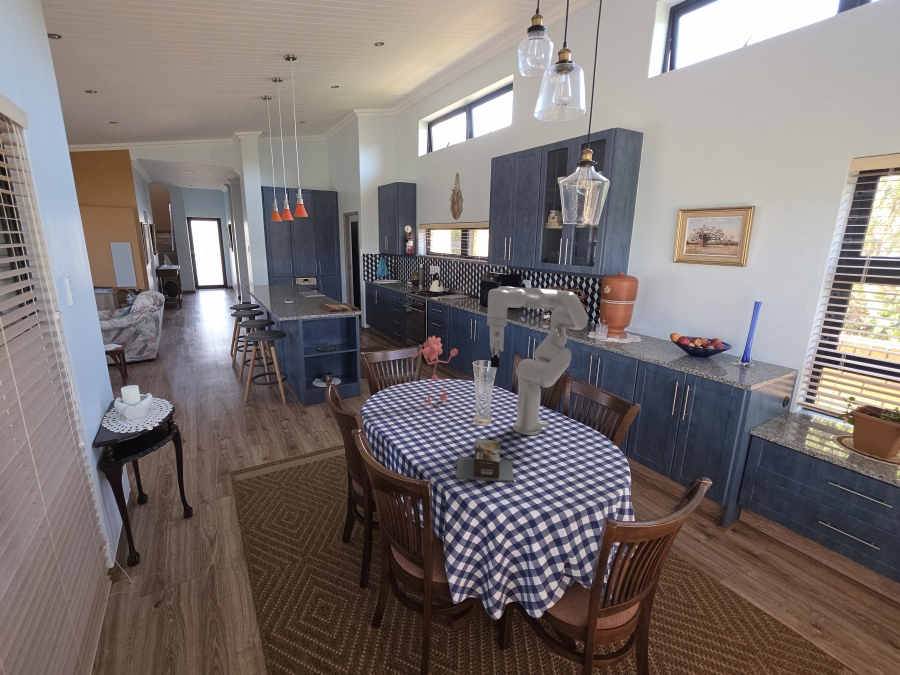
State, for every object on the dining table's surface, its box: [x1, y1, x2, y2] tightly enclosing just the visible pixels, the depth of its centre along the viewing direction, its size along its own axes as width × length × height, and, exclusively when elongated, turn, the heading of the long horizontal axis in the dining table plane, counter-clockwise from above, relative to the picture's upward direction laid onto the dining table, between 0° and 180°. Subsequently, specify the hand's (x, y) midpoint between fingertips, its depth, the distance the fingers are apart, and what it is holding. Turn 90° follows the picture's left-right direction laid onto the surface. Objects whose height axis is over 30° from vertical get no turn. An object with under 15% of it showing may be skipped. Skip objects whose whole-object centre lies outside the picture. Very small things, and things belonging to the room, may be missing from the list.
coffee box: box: [473, 439, 501, 478], centre depth 159 cm, size 9×6×16 cm
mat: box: [455, 457, 515, 483], centre depth 158 cm, size 20×14×1 cm
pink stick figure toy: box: [410, 335, 459, 411], centre depth 217 cm, size 15×26×35 cm, turn 131°
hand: (494, 366), depth 173 cm, fingers closed
